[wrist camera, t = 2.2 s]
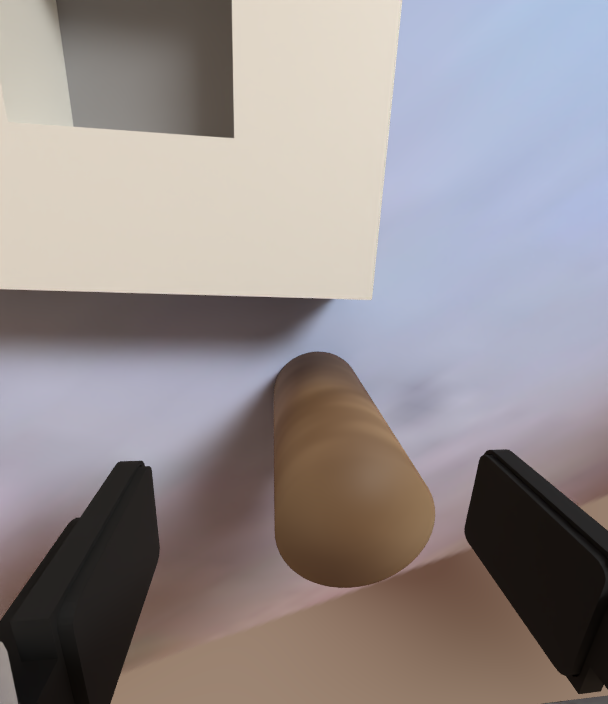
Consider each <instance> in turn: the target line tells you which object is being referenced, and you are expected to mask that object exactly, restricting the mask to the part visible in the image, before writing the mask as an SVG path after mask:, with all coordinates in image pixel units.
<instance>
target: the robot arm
mask: <svg viewBox="0 0 608 704" xmlns="http://www.w3.org/2000/svg"><path fill="white" fill-rule="evenodd" d="M465 536H466V539H467V541H468V543H469V544H470V546H471V547H472V549H473V550H474V551H475V553H476V554H477V556H478V557H479V559H480V560H481V561H482V563H483V564H484V566H485V567H486V569H487V570H488V572H489V573H490V574H491V576H492V577H493V579H494V580H495V582H496V583H497V584H498V586H499V587H500V589H501V590H502V592H503V593H504V595H505V596H506V598H507V599H508V600H509V602H510V603H511V605H512V606H513V608H514V609H515V610H516V612H517V613H518V615H519V616H520V618H521V619H522V620H523V622H524V623H525V625H526V626H527V627H528V629H529V631H530V632H531V634H532V635H533V636H534V638H535V639H536V640H537V642H538V644H539V645H540V646H541V648H542V649H543V651H544V652H545V654H546V655H547V656H548V658H549V659H550V661H551V662H552V664H553V665H554V667H555V668H556V669H557V670H558V671H559V672H560V673H561V674H563V675H565V676H566V677H567V678H568V680H569V681H570V682H571V684H572V685H573V687H574V688H575V690H576V691H577V692H578V694H583V693H591V692H598V691H601V690H602V687H603V685H605V686H606V688H607V689H608V531H607V530H606V529H605V528H604V527H603V526H601V525H600V524H599V523H598V522H597V521H595V520H594V519H593V518H592V517H590V516H589V515H588V514H587V513H585V512H584V511H583V510H582V509H581V508H580V507H578V506H577V505H576V504H575V503H573V502H572V501H571V500H570V499H569V498H567V497H566V496H565V495H564V494H563V493H561V492H560V491H559V490H558V489H556V488H555V487H554V486H553V485H552V484H550V483H549V482H548V481H547V480H546V479H544V478H543V477H542V476H541V475H539V474H538V473H537V472H536V471H535V470H533V469H532V468H531V467H530V466H529V465H527V464H526V463H525V462H524V461H522V460H521V459H520V458H519V457H518V456H516V455H515V454H514V453H513V452H511V451H510V450H488V451H486V452H485V454H484V455H483V456H481V457H480V460H479V464H478V469H477V474H476V478H475V483H474V487H473V492H472V496H471V501H470V505H469V510H468V514H467V519H466V524H465ZM159 549H160V547H159V536H158V527H157V517H156V507H155V498H154V488H153V478H152V470H151V467H150V466H145V465H144V463H143V461H120V462H118V463H117V464H116V465H115V467H114V468H113V470H112V471H111V473H110V474H109V476H108V477H107V479H106V480H105V482H104V483H103V485H102V486H101V488H100V489H99V491H98V492H97V494H96V495H95V496H94V498H93V499H92V501H91V502H90V504H89V505H88V507H87V508H86V510H85V511H84V513H83V514H82V516H81V517H80V518H75V519H73V520H72V521H71V522H70V523H69V524H68V525H67V527H66V528H65V529H64V531H63V532H62V534H61V535H60V537H59V538H58V539H57V541H56V542H55V544H54V545H53V546H52V548H51V549H50V551H49V552H48V554H47V555H46V556H45V558H44V559H43V561H42V562H41V564H40V565H39V566H38V568H37V569H36V571H35V572H34V574H33V575H32V576H31V578H30V579H29V581H28V582H27V583H26V585H25V586H24V588H23V589H22V591H21V592H20V593H19V595H18V596H17V598H16V599H15V601H14V602H13V603H12V605H11V606H10V608H9V609H8V611H7V612H6V613H5V615H4V616H3V618H2V619H1V621H0V704H110V703H111V700H112V697H113V694H114V691H115V688H116V685H117V682H118V679H119V676H120V673H121V670H122V667H123V664H124V661H125V658H126V655H127V652H128V649H129V646H130V643H131V640H132V637H133V634H134V631H135V628H136V625H137V622H138V619H139V616H140V613H141V610H142V607H143V604H144V601H145V598H146V595H147V592H148V589H149V586H150V583H151V580H152V577H153V574H154V571H155V568H156V565H157V562H158V558H159ZM545 704H608V696H601V697H592V698H584V699H577V700H568V701H560V702H552V703H545Z"/></svg>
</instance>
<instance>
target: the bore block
mask: <svg viewBox="0 0 608 704" xmlns="http://www.w3.org/2000/svg"><path fill="white" fill-rule="evenodd" d="M401 6H402V0H0V289H14V290H49V291H83V292H117V293H152V294H186V295H221V296H255V297H290V298H324V299H359V300H372V292H373V283H374V273H375V263H376V253H377V243H378V233H379V223H380V213H381V204H382V194H383V184H384V174H385V164H386V154H387V144H388V134H389V125H390V115H391V105H392V95H393V85H394V75H395V65H396V55H397V46H398V36H399V26H400V16H401Z"/></svg>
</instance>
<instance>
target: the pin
mask: <svg viewBox="0 0 608 704" xmlns="http://www.w3.org/2000/svg"><path fill="white" fill-rule="evenodd" d="M274 509H275V540H276V544H277V548H278V550H279V552H280V555H281V556H282V558H283V559H284V561H285V562H286V563H287V565H288V566H289V567H290V568H291V569H292V570H294V571H295V572H296V573H297V574H299V575H300V576H302V577H303V578H305V579H307V580H309V581H312V582H314V583H317V584H320V585H325V586H329V587H338V588H351V587H360V586H365V585H369V584H373V583H376V582H379V581H382V580H384V579H386V578H389V577H390V576H392V575H394V574H396V573H398V572H399V571H401V570H402V569H404V568H405V567H406V566H407V565H409V564H410V563H411V562H412V561H413V560H414V559H415V558H416V557H417V556H418V555H419V554H420V552H421V551H422V550H423V548H424V547H425V545H426V544H427V542H428V540H429V538H430V535H431V533H432V530H433V526H434V521H435V506H434V501H433V498H432V495H431V493H430V491H429V489H428V487H427V486H426V484H425V482H424V481H423V479H422V478H421V476H420V474H419V473H418V471H417V470H416V468H415V467H414V465H413V463H412V462H411V460H410V459H409V457H408V456H407V454H406V453H405V451H404V449H403V448H402V446H401V445H400V443H399V442H398V440H397V438H396V437H395V435H394V434H393V432H392V431H391V429H390V427H389V426H388V424H387V423H386V421H385V420H384V418H383V416H382V415H381V413H380V412H379V410H378V409H377V407H376V405H375V404H374V402H373V401H372V399H371V398H370V396H369V394H368V393H367V391H366V390H365V388H364V387H363V385H362V383H361V382H360V380H359V379H358V377H357V376H356V374H355V372H354V371H353V369H352V368H351V367H350V365H349V364H348V363H347V362H346V361H344V360H343V359H341V358H340V357H338V356H336V355H333V354H331V353H326V352H310V353H306V354H302V355H300V356H298V357H296V358H294V359H292V360H291V361H290V362H289V363H287V364H286V365H285V366H284V367H283V369H282V370H281V371H280V373H279V375H278V376H277V379H276V381H275V385H274Z"/></svg>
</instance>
